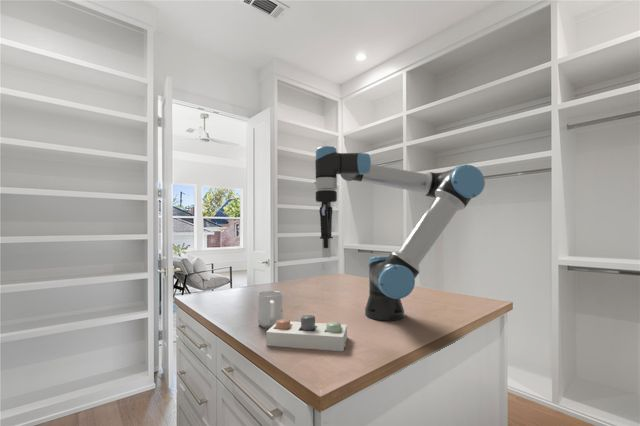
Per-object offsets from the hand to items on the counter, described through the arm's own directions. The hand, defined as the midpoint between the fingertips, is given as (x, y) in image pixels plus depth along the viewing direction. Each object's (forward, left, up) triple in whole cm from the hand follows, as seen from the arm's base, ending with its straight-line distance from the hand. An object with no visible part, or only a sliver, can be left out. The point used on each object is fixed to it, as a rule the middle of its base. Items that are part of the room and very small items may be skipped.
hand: (326, 257), depth 109 cm
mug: (+20, +2, -25) cm, 32 cm away
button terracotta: (+12, +14, -23) cm, 29 cm away
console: (+3, +14, -24) cm, 28 cm away
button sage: (-5, +14, -23) cm, 27 cm away
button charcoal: (+3, +14, -21) cm, 26 cm away
